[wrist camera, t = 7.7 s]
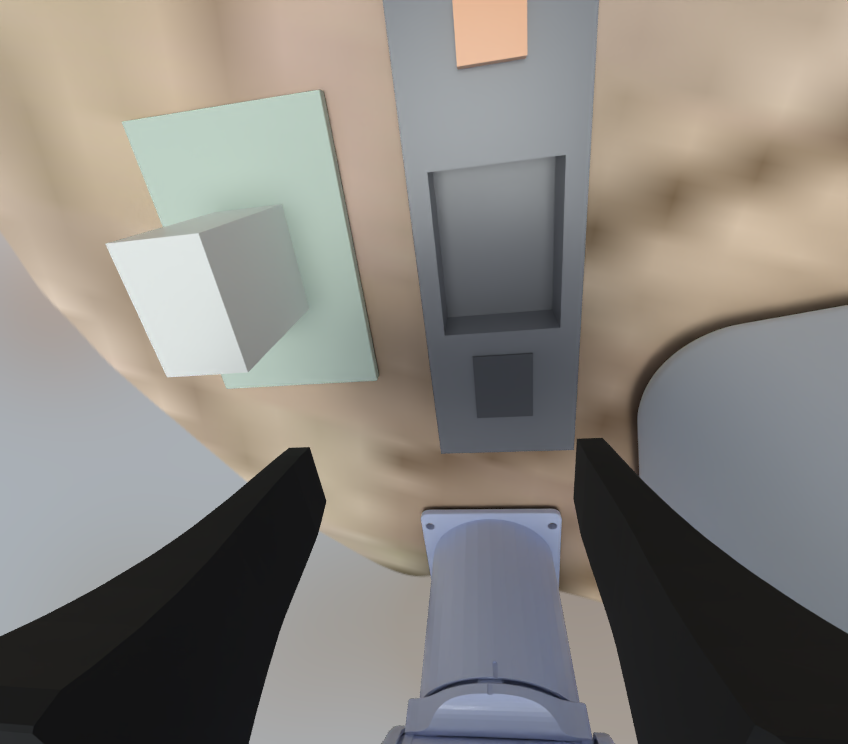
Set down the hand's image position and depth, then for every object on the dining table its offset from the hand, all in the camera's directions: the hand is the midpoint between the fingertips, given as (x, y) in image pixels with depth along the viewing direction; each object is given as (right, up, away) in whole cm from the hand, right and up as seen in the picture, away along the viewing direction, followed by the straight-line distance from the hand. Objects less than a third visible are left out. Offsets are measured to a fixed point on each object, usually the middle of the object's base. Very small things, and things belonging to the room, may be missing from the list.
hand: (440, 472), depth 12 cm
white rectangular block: (-7, +7, +7) cm, 13 cm away
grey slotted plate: (+3, +8, +6) cm, 10 cm away
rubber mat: (-7, +8, +8) cm, 13 cm away
